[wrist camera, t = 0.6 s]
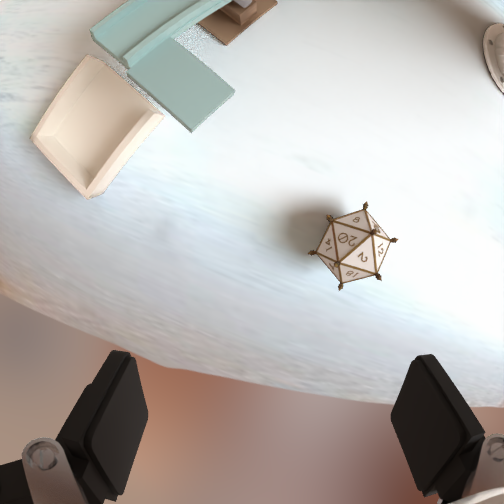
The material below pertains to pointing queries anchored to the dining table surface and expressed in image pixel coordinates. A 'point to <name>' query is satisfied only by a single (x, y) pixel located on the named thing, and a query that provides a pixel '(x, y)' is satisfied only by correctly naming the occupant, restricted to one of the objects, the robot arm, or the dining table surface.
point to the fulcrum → (235, 19)
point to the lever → (165, 55)
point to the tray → (94, 126)
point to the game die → (353, 246)
